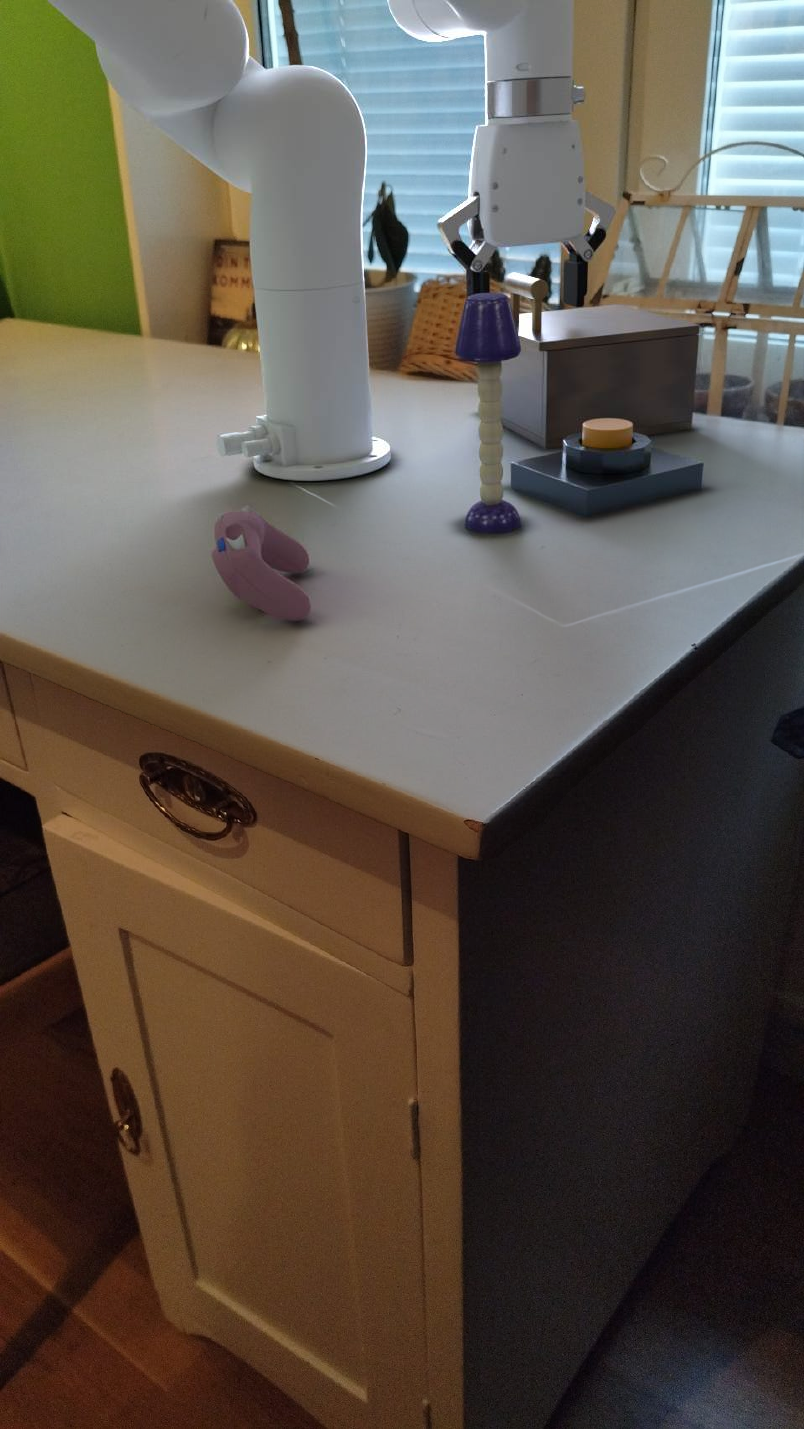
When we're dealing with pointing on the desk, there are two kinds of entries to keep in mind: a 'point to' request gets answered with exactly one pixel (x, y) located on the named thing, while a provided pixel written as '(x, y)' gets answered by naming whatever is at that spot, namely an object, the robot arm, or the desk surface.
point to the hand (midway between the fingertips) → (527, 310)
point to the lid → (584, 321)
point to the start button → (607, 433)
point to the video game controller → (260, 564)
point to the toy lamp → (489, 401)
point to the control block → (605, 476)
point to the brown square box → (600, 388)
